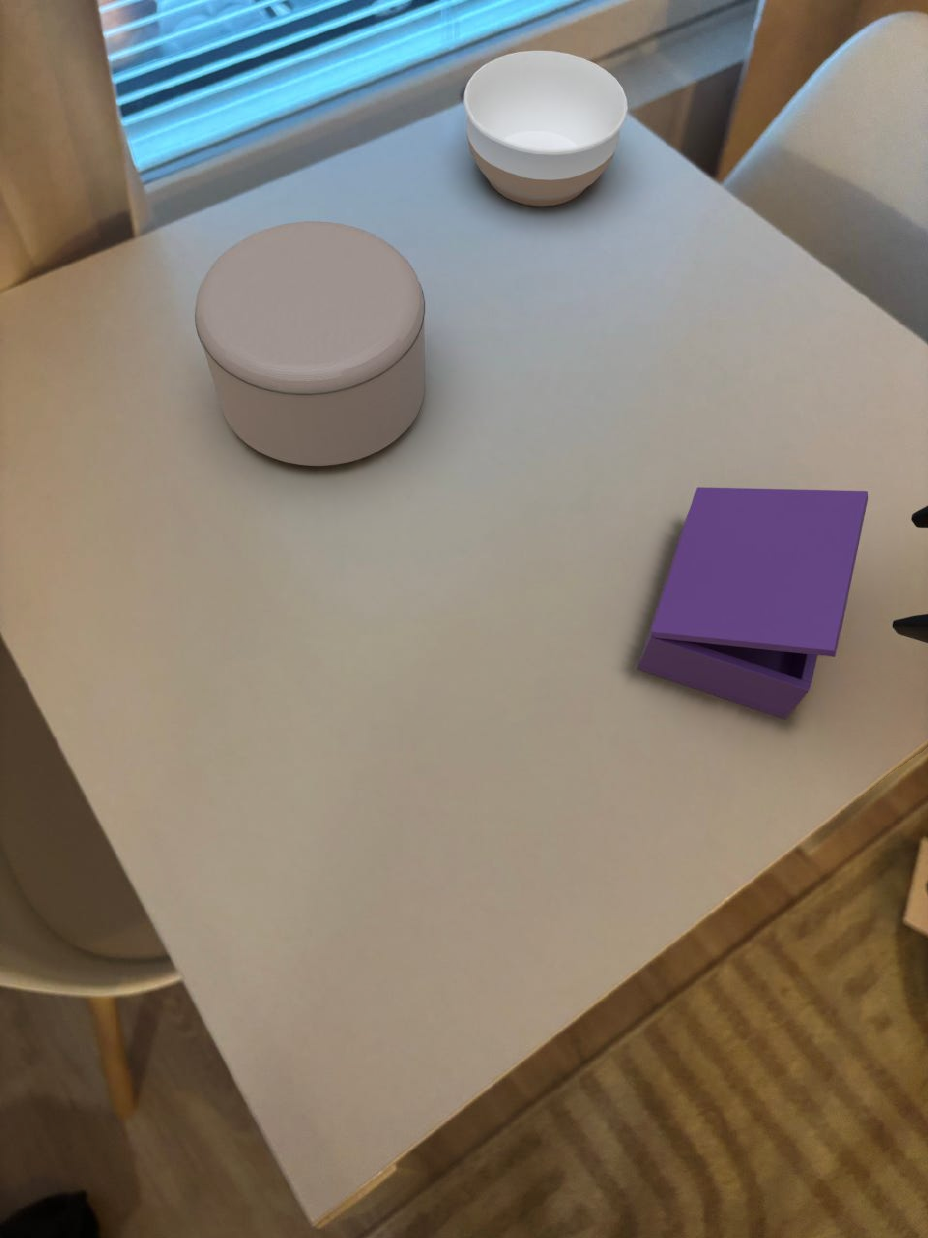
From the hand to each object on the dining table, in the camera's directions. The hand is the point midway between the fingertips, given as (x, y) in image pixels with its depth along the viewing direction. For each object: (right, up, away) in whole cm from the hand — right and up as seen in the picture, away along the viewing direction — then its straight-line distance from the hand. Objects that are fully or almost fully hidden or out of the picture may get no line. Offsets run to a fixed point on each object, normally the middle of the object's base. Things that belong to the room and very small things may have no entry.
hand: (904, 572), depth 62 cm
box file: (-8, -3, +12) cm, 15 cm away
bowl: (-21, +44, +37) cm, 61 cm away
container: (-41, +17, +22) cm, 49 cm away
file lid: (-8, +1, +5) cm, 9 cm away
